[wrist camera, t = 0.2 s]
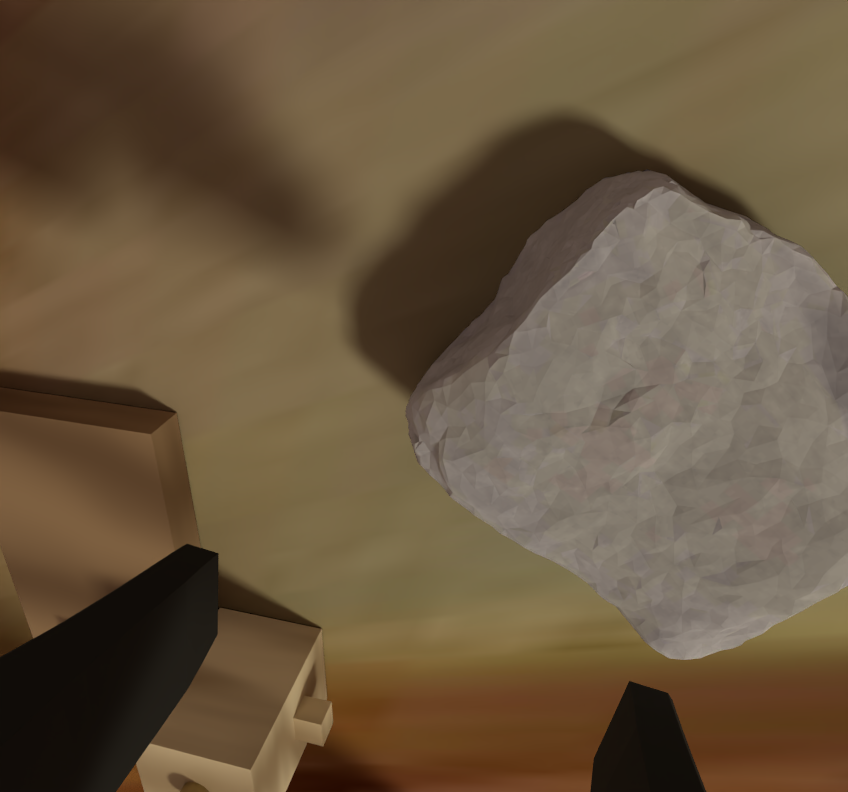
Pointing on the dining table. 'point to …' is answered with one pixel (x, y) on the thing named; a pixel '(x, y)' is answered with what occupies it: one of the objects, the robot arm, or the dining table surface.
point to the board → (86, 499)
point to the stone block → (656, 414)
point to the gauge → (244, 711)
